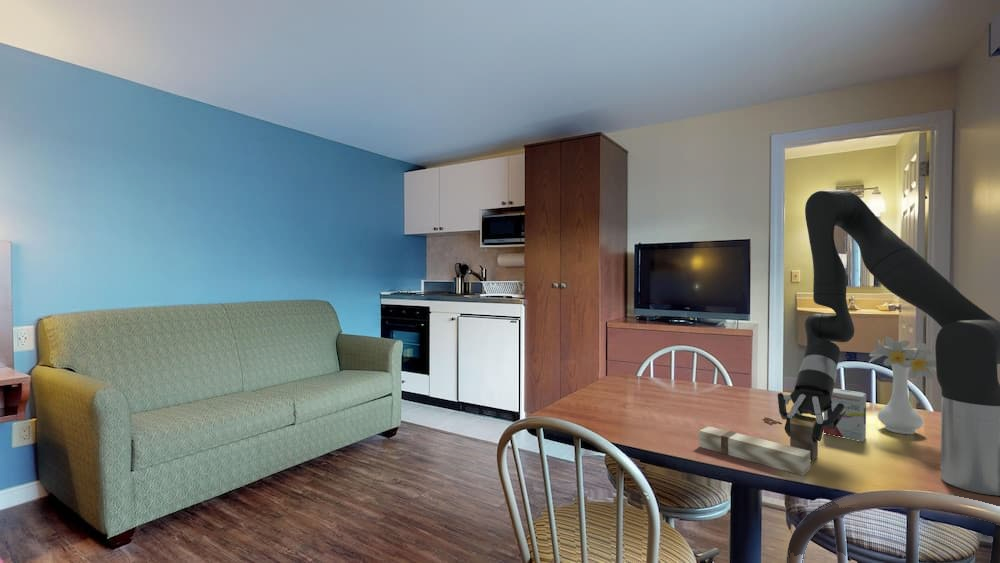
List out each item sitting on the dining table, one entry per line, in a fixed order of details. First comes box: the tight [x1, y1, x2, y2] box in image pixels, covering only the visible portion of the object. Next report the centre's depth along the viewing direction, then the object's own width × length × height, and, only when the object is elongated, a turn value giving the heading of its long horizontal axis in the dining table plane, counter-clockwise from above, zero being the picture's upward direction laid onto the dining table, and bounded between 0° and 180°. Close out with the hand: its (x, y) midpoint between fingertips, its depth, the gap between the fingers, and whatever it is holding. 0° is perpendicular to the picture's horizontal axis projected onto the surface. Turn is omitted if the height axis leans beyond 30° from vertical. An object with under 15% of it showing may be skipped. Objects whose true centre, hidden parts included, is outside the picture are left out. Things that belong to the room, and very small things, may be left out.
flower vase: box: [868, 336, 936, 435], centre depth 123 cm, size 13×18×25 cm
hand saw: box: [761, 417, 783, 426], centre depth 140 cm, size 24×5×1 cm, turn 11°
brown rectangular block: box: [789, 414, 819, 462], centre depth 105 cm, size 4×4×9 cm
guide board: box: [698, 425, 811, 477], centre depth 105 cm, size 22×5×4 cm, turn 42°
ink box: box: [823, 387, 867, 442], centre depth 119 cm, size 9×5×12 cm, turn 44°
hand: (801, 437), depth 104 cm, fingers closed on brown rectangular block, 4 cm apart
